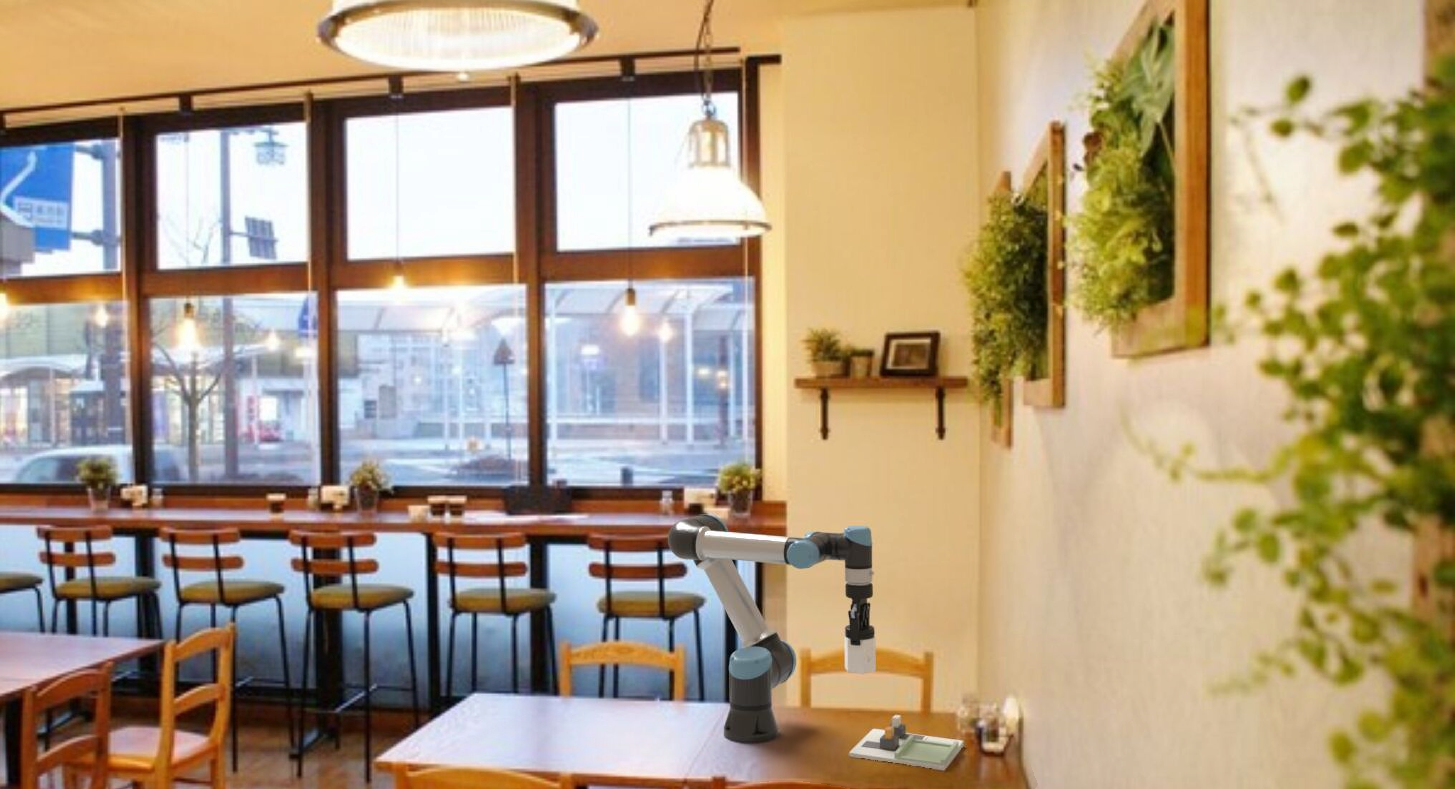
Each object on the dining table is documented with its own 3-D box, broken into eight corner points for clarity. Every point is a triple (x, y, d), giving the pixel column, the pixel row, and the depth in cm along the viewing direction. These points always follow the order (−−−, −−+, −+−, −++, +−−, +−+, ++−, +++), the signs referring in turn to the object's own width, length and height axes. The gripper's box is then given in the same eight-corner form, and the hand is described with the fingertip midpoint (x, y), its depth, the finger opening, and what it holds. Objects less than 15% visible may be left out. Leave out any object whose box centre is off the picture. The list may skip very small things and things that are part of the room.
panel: (849, 758, 280) (848, 746, 280) (873, 733, 299) (873, 722, 299) (944, 772, 269) (944, 760, 269) (963, 746, 288) (963, 735, 288)
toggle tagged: (880, 747, 282) (879, 729, 282) (884, 743, 286) (884, 724, 286) (894, 749, 281) (894, 731, 280) (899, 745, 284) (899, 726, 284)
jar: (858, 675, 291) (857, 632, 291) (838, 669, 298) (837, 626, 298) (882, 670, 297) (881, 627, 296) (862, 664, 303) (861, 622, 303)
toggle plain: (887, 735, 292) (887, 717, 292) (891, 731, 295) (891, 713, 295) (901, 737, 290) (901, 719, 290) (905, 733, 294) (905, 715, 294)
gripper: (863, 588, 288) (865, 675, 289) (880, 578, 303) (881, 661, 303) (837, 586, 291) (838, 673, 292) (854, 577, 306) (855, 659, 306)
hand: (860, 667), depth 297 cm, fingers closed on jar, 2 cm apart
